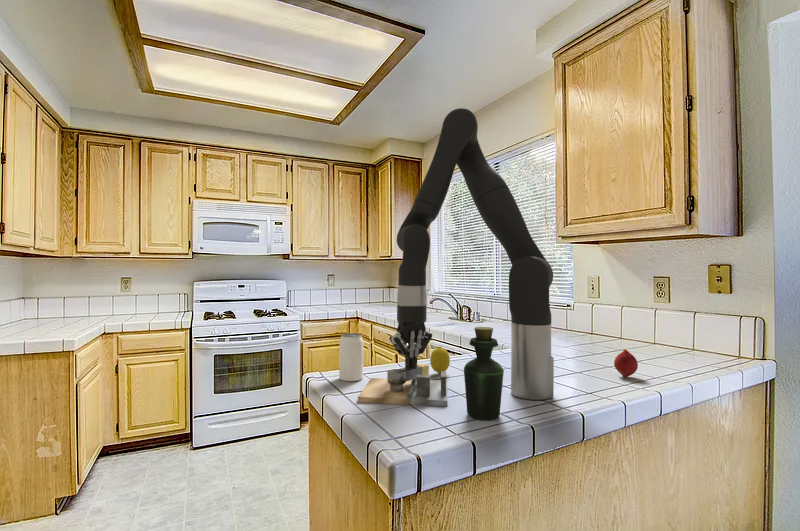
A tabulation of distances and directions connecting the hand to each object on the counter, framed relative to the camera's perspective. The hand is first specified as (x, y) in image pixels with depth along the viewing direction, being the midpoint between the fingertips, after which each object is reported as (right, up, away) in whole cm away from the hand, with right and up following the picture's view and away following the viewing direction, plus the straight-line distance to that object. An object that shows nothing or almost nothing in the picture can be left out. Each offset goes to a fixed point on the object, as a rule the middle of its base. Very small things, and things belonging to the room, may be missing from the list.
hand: (410, 371), depth 105 cm
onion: (+61, -5, +11) cm, 62 cm away
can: (-16, -4, +8) cm, 18 cm away
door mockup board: (-1, -4, -5) cm, 7 cm away
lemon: (+9, -4, +13) cm, 16 cm away
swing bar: (-1, -1, -4) cm, 4 cm away
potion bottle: (+14, -4, -20) cm, 25 cm away
